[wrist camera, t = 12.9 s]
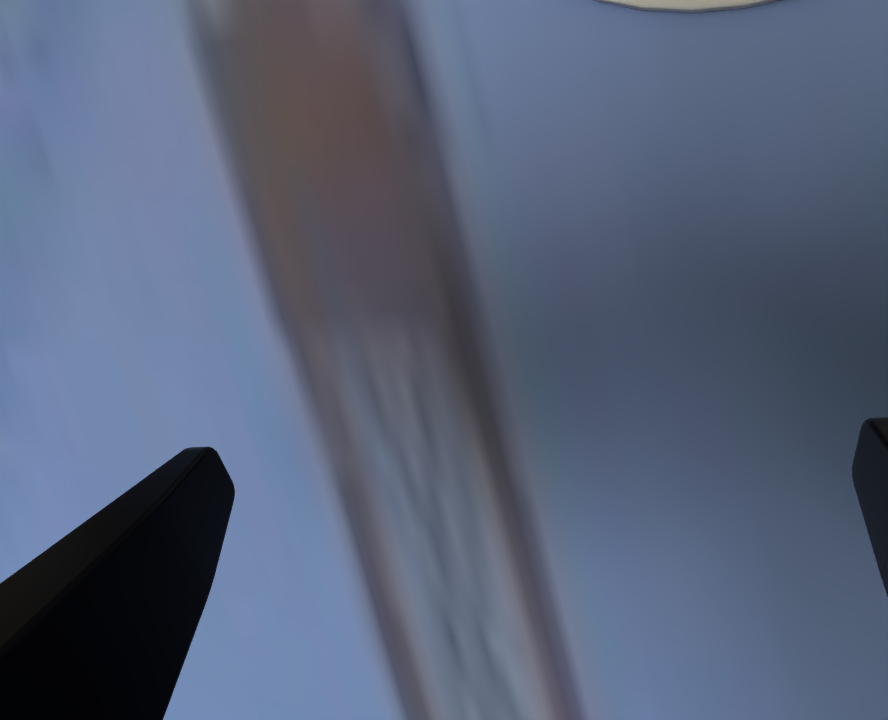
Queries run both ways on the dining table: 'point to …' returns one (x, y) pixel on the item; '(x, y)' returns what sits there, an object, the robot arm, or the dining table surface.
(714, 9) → the saucer
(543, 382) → the dining table surface
